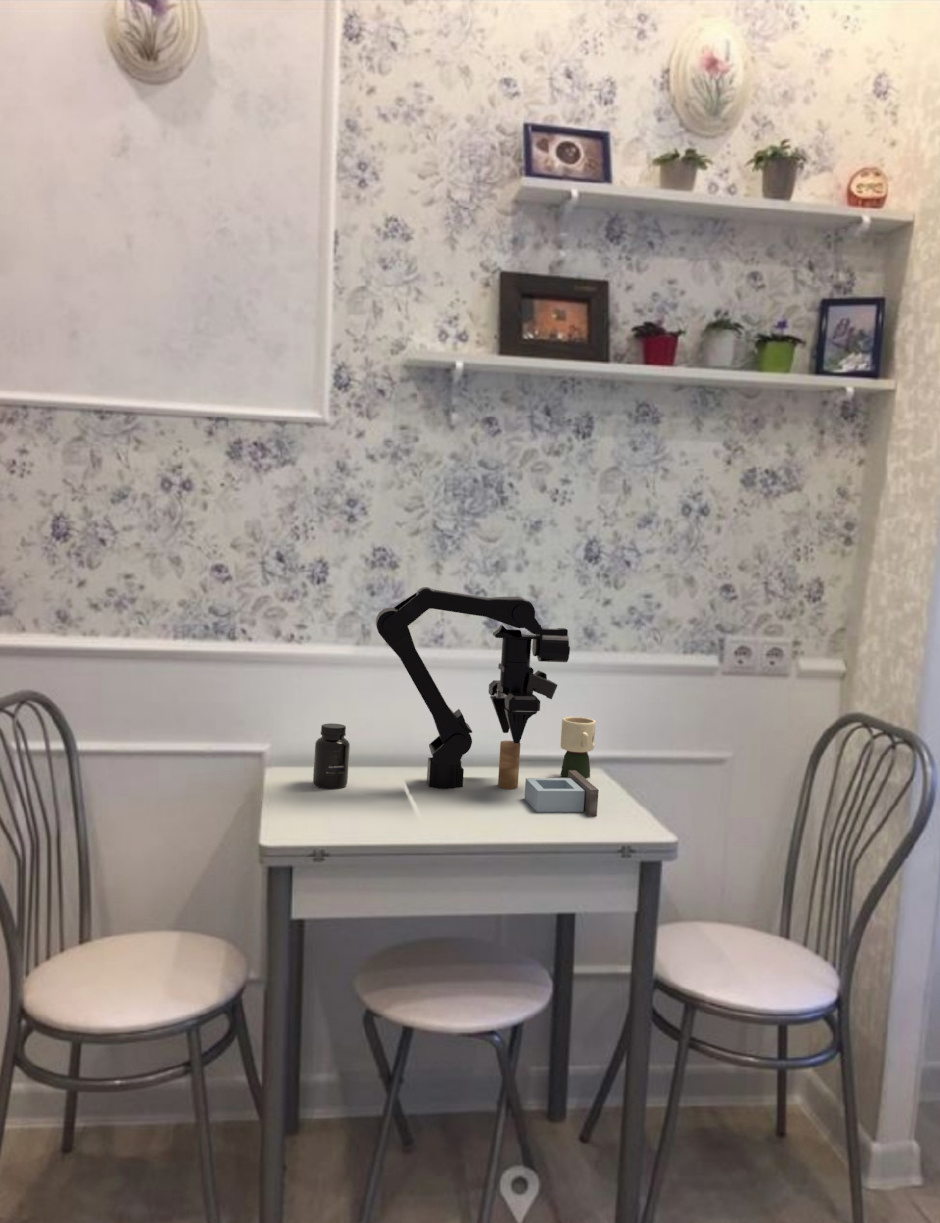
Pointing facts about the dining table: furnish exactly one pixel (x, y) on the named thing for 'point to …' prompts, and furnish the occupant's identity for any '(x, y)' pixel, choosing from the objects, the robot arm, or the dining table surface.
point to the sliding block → (554, 795)
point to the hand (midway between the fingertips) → (510, 737)
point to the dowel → (509, 765)
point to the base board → (586, 792)
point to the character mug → (577, 744)
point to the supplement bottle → (331, 757)
